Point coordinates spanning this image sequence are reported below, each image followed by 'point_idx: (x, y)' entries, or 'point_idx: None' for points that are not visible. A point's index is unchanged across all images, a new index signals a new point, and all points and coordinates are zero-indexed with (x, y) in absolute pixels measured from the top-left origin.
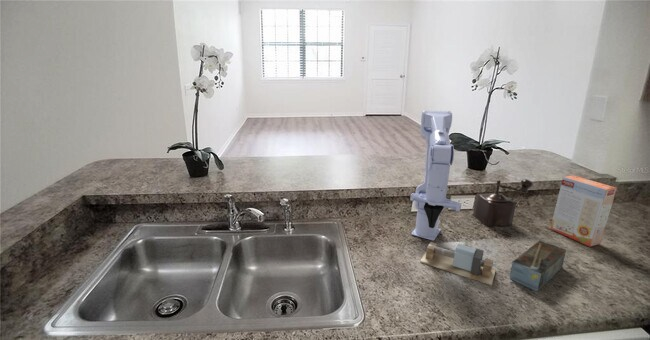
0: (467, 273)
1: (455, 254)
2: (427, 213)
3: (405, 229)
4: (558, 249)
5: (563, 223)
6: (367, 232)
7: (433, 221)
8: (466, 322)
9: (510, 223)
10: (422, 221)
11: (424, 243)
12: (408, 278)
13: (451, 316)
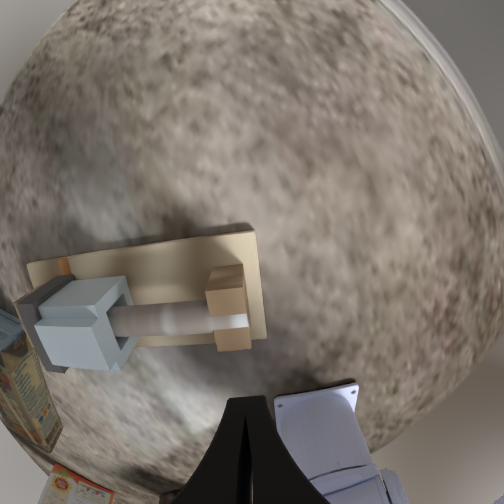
0: (80, 269)
1: (96, 300)
2: (302, 500)
3: (381, 392)
4: (12, 428)
5: (92, 498)
6: (476, 288)
7: (223, 445)
8: (39, 57)
9: (161, 498)
10: (339, 440)
11: (297, 367)
12: (241, 83)
13: (67, 41)
